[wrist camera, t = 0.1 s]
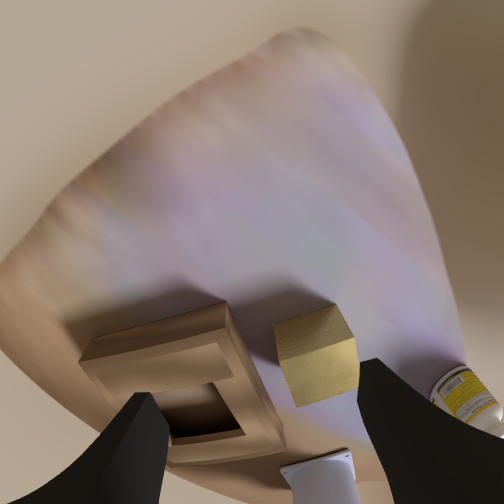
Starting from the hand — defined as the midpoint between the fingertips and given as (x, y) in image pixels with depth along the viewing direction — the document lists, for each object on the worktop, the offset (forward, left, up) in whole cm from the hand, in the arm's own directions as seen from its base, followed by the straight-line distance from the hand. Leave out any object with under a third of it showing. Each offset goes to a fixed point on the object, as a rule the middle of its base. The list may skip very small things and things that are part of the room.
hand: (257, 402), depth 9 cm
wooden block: (-6, -3, -10) cm, 12 cm away
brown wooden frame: (-8, +7, -10) cm, 15 cm away
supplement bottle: (-19, -16, -10) cm, 27 cm away
